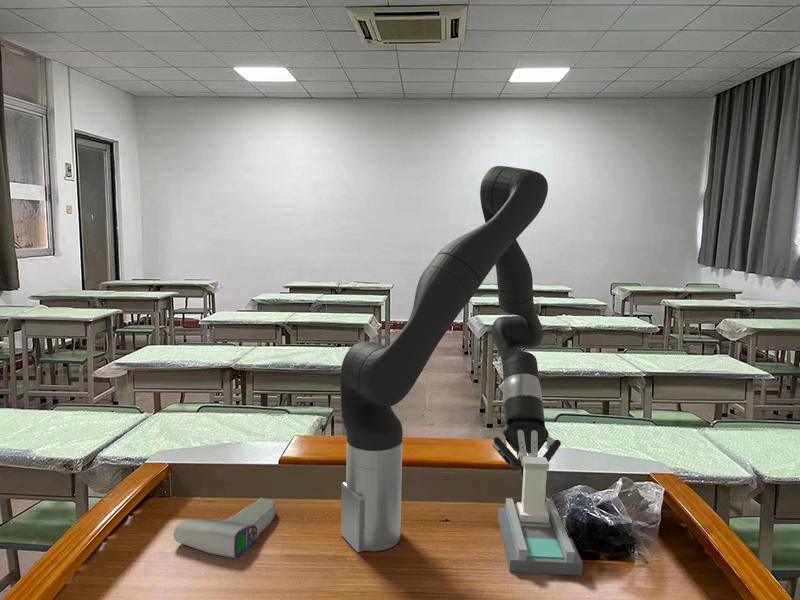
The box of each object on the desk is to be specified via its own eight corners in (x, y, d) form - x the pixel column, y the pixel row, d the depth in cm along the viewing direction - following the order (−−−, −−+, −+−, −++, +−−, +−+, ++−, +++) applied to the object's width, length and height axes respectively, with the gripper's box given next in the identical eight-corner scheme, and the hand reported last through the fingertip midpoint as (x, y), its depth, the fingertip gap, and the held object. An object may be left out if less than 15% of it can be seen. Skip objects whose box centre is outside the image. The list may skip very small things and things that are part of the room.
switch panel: (581, 575, 88) (583, 552, 88) (509, 571, 89) (510, 549, 88) (558, 520, 104) (560, 500, 104) (497, 517, 105) (498, 497, 104)
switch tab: (548, 522, 98) (552, 466, 97) (520, 521, 98) (523, 465, 97) (543, 509, 103) (547, 455, 101) (516, 508, 103) (519, 454, 101)
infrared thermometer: (281, 520, 105) (239, 563, 90) (220, 510, 107) (170, 550, 93) (281, 495, 104) (239, 534, 90) (221, 487, 107) (171, 523, 93)
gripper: (491, 392, 110) (495, 482, 100) (560, 394, 110) (572, 485, 99) (487, 409, 116) (490, 495, 106) (553, 412, 116) (563, 499, 105)
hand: (530, 490), depth 103 cm, fingers closed
